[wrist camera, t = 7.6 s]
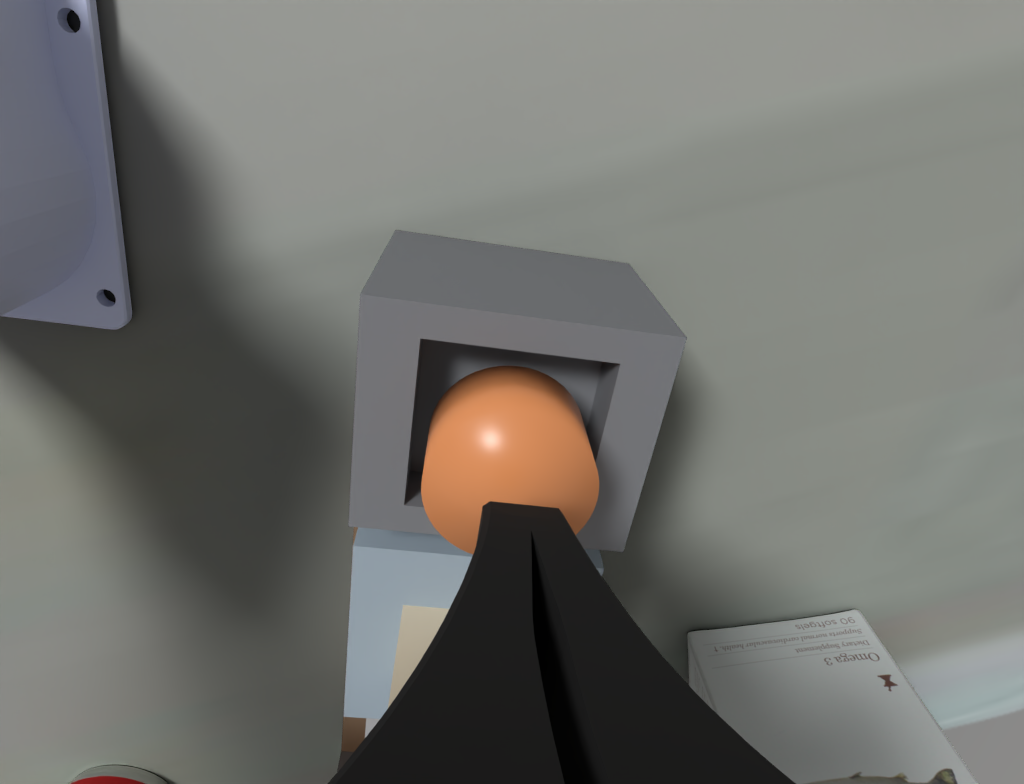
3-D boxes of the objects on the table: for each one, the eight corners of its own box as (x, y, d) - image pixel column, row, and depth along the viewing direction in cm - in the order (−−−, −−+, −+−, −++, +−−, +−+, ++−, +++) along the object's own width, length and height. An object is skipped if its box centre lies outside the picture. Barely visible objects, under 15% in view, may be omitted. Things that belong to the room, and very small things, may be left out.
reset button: (437, 356, 14) (430, 403, 12) (598, 375, 14) (617, 424, 12) (422, 491, 15) (413, 552, 13) (567, 505, 16) (579, 567, 14)
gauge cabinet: (395, 230, 18) (360, 294, 13) (645, 266, 19) (708, 340, 14) (382, 410, 21) (348, 526, 16) (602, 435, 22) (641, 553, 16)
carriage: (366, 497, 19) (324, 651, 14) (591, 519, 20) (629, 673, 15) (355, 659, 22) (318, 834, 17) (551, 673, 23) (571, 845, 18)
